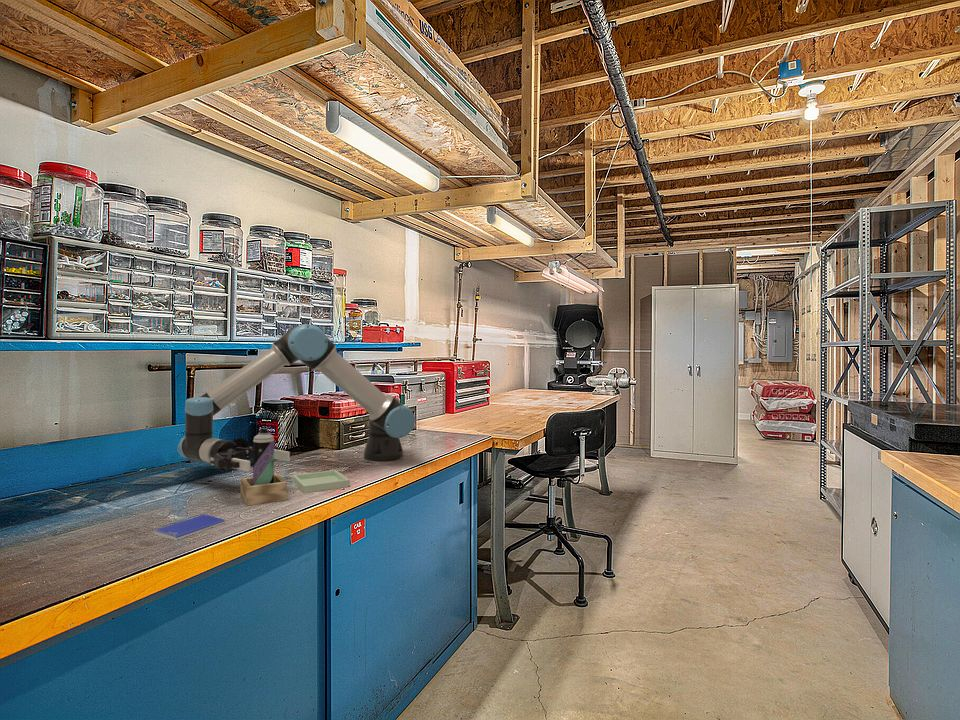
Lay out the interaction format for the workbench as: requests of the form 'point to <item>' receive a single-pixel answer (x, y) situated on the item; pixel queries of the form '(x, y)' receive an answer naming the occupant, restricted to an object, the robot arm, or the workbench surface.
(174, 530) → the hard drive
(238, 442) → the webcam
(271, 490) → the wooden storage crate
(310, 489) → the tray
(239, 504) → the workbench surface
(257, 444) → the spray can
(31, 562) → the workbench surface
